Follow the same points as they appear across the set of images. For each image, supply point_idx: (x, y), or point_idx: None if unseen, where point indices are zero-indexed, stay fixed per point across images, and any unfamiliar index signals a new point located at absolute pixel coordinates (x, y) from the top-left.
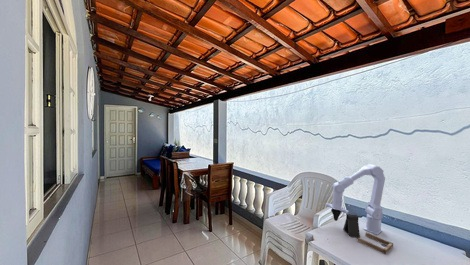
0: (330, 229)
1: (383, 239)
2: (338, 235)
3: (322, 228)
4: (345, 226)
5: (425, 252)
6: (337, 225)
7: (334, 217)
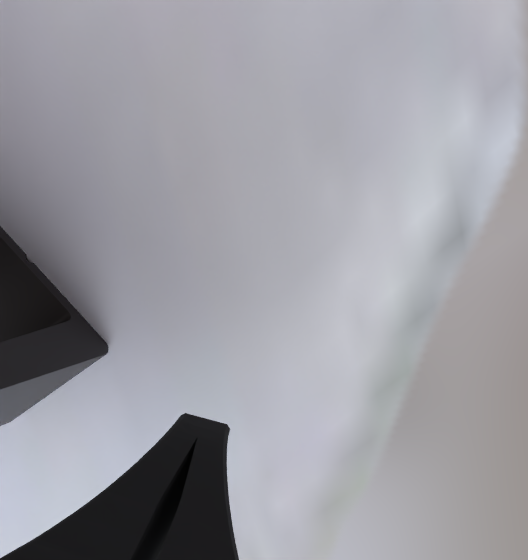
0: (265, 182)
1: None
2: (77, 43)
3: (410, 90)
4: (3, 343)
5: None
6: (218, 421)
7: (202, 467)
